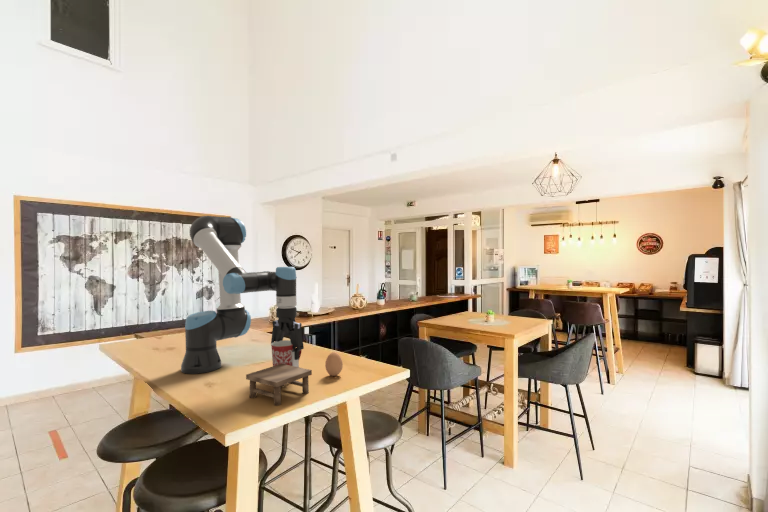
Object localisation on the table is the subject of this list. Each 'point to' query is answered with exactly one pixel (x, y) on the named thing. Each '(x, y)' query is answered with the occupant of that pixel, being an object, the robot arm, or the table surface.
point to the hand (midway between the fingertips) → (287, 366)
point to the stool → (278, 380)
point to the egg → (333, 364)
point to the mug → (282, 352)
